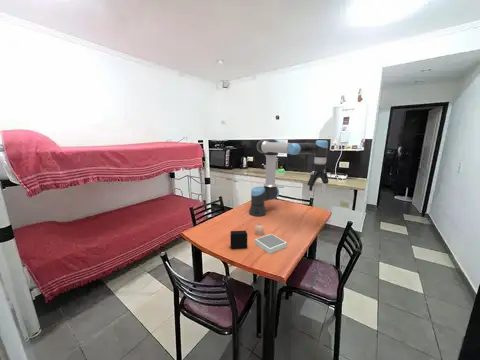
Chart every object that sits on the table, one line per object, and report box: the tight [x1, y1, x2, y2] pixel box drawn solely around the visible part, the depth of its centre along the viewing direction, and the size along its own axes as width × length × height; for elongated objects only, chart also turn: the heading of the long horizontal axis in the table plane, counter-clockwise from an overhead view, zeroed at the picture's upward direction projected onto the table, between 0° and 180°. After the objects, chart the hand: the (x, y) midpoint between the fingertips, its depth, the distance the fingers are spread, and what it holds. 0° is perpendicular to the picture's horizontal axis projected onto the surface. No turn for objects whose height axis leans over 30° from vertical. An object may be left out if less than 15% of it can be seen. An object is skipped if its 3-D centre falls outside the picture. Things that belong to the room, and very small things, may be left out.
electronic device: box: [229, 230, 248, 250], centre depth 123 cm, size 4×10×10 cm, turn 95°
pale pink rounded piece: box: [254, 223, 265, 237], centre depth 141 cm, size 6×6×6 cm
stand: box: [254, 233, 288, 255], centre depth 126 cm, size 14×14×3 cm
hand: (317, 193), depth 140 cm, fingers open, 13 cm apart
